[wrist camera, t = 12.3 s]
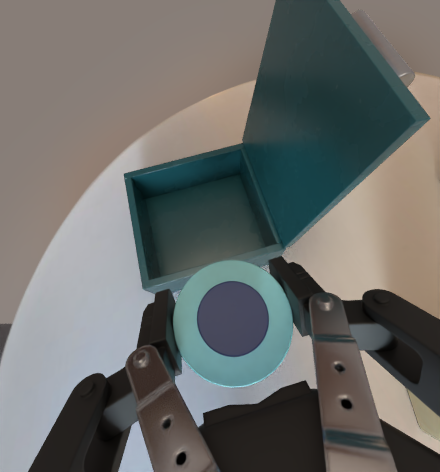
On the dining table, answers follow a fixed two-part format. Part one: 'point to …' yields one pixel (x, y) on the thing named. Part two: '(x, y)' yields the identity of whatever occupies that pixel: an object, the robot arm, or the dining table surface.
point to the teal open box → (199, 217)
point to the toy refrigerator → (426, 417)
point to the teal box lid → (324, 110)
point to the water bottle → (233, 323)
